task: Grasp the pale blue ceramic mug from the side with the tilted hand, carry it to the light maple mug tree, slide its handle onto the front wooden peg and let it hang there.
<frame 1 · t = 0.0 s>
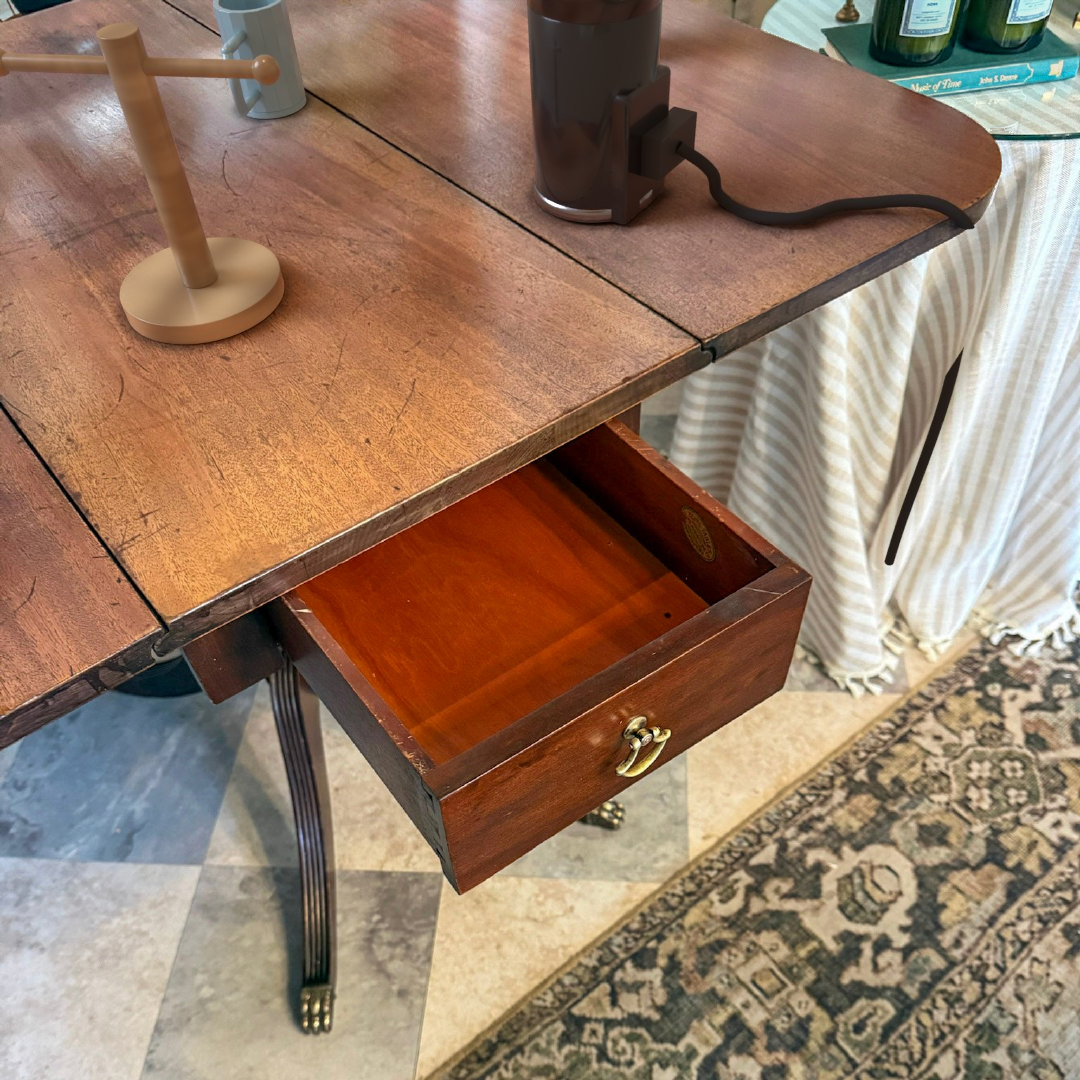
mug tree: (206, 297, 71), on the table
mug: (273, 104, 92), on the table
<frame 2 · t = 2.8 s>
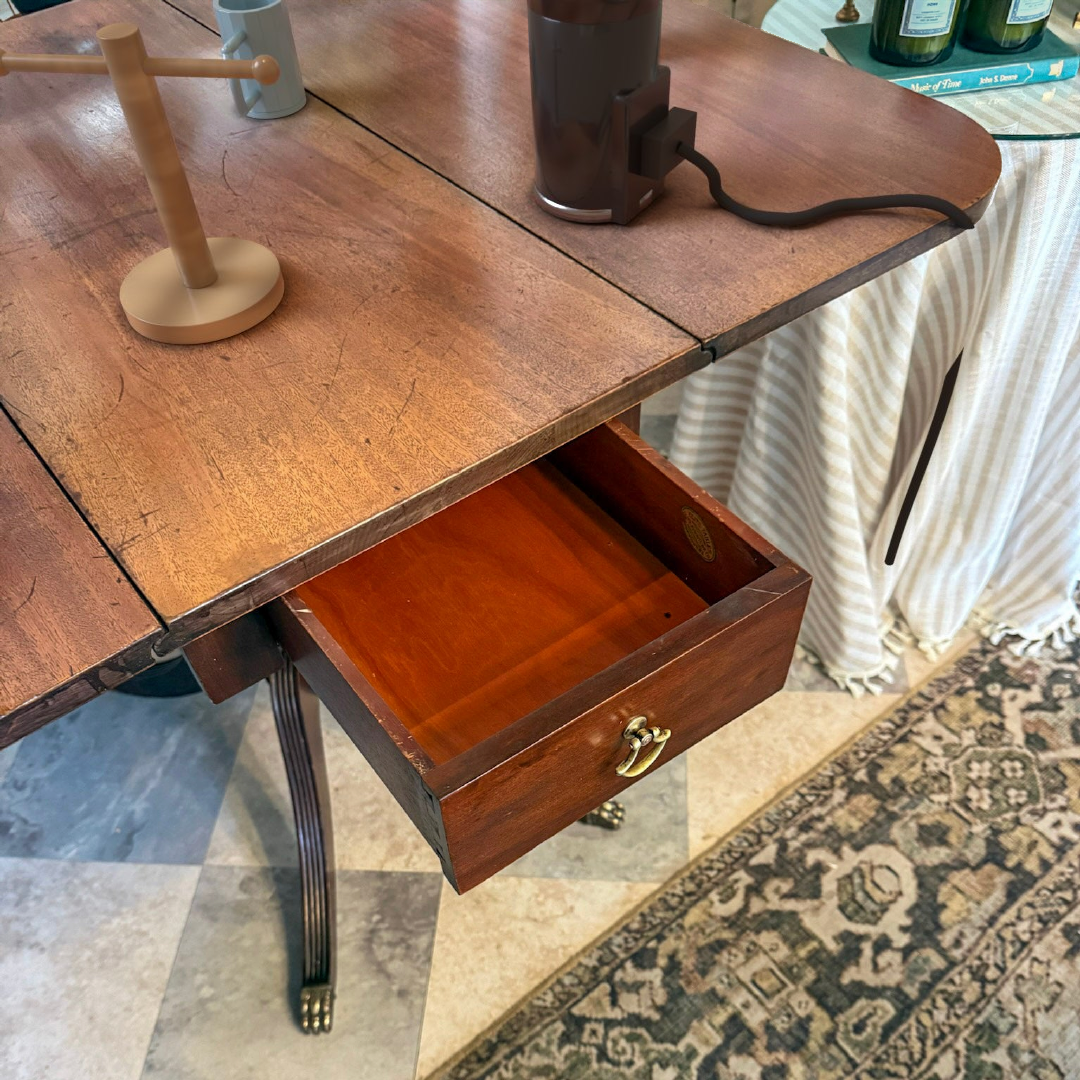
nothing on the table moved.
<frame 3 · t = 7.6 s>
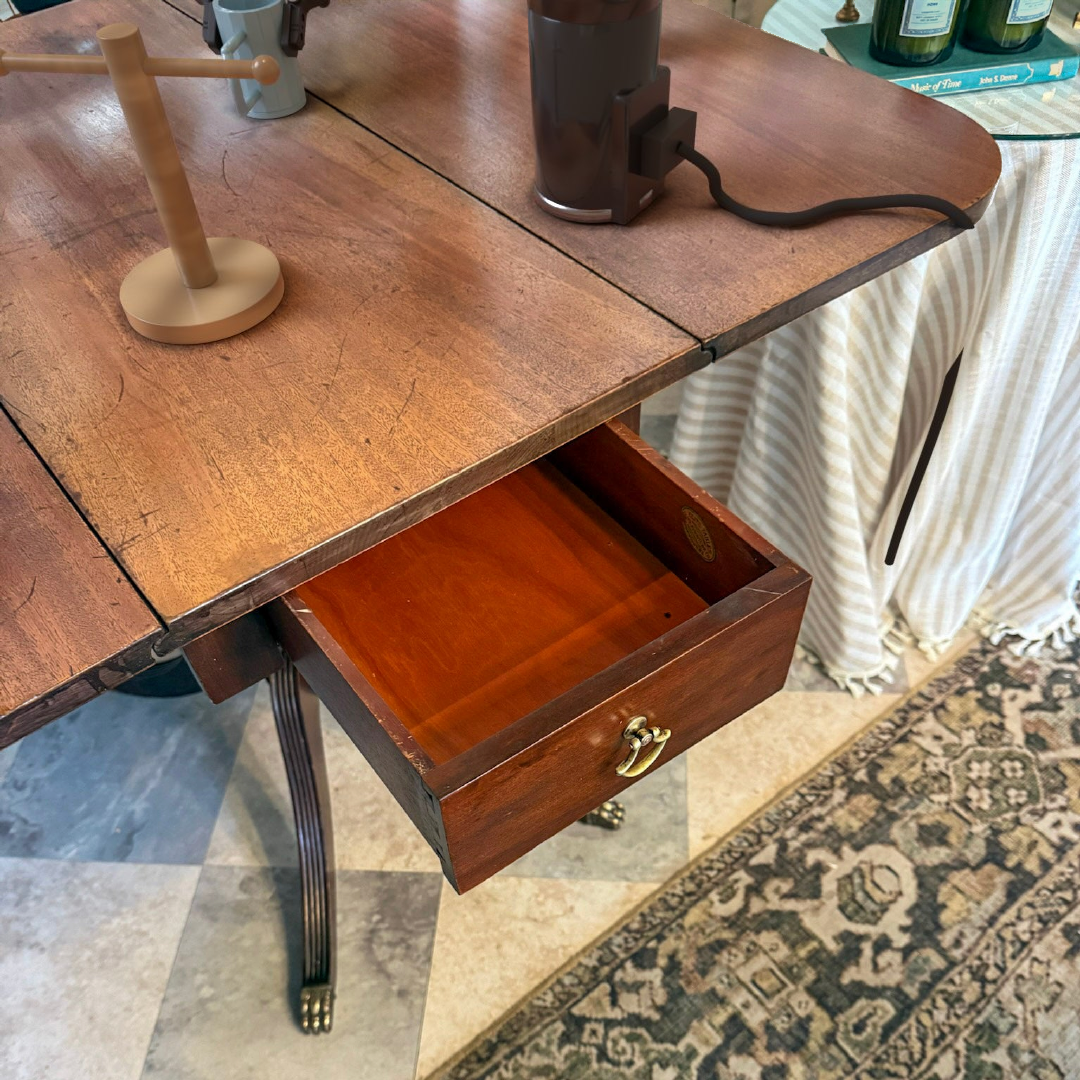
hand: (252, 51, 87), 5 cm above the table, tool tilted 45°, fingers closed on mug, 6 cm apart
mug: (273, 104, 92), on the table, touching gripper
everything else where it was.
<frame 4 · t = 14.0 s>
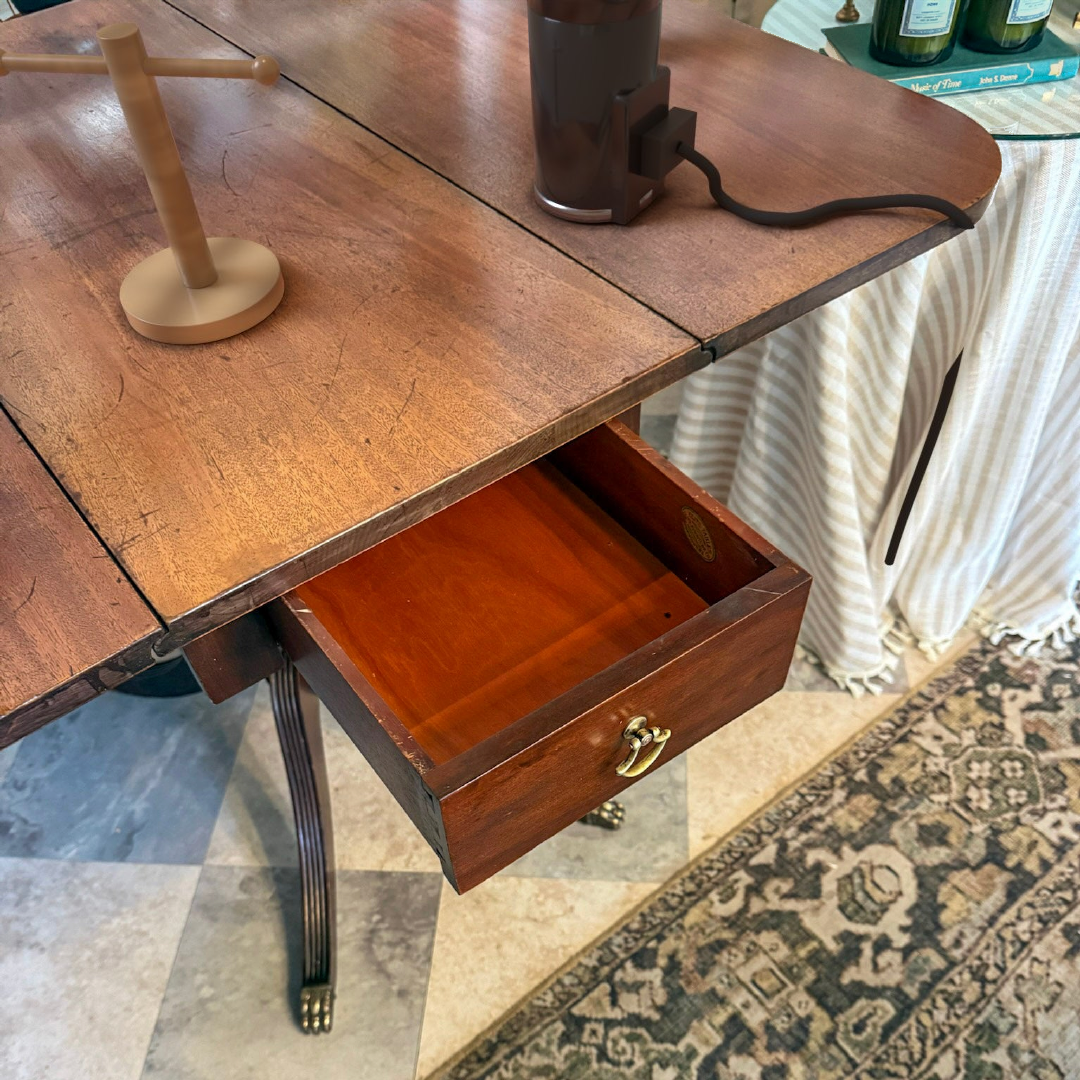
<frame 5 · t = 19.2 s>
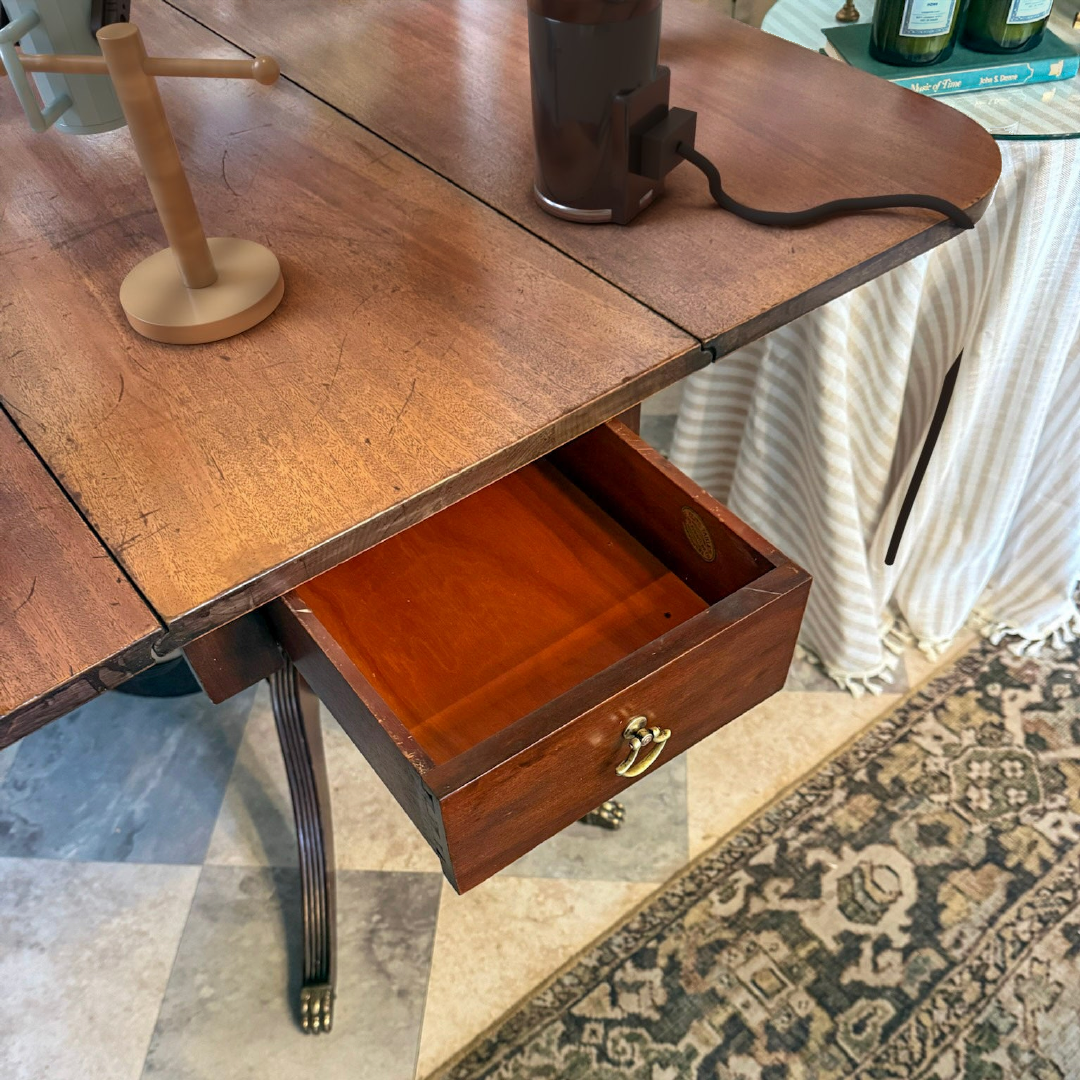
hand: (56, 41, 62), 16 cm above the table, tool tilted 45°, fingers closed on mug, 6 cm apart
mug: (99, 114, 67), point 11 cm above the table, touching gripper
everything else where it was.
when the fingers open (15 cm above the table, at t = 20.4 s): mug moves 10 cm and tips over, resting on mug tree.
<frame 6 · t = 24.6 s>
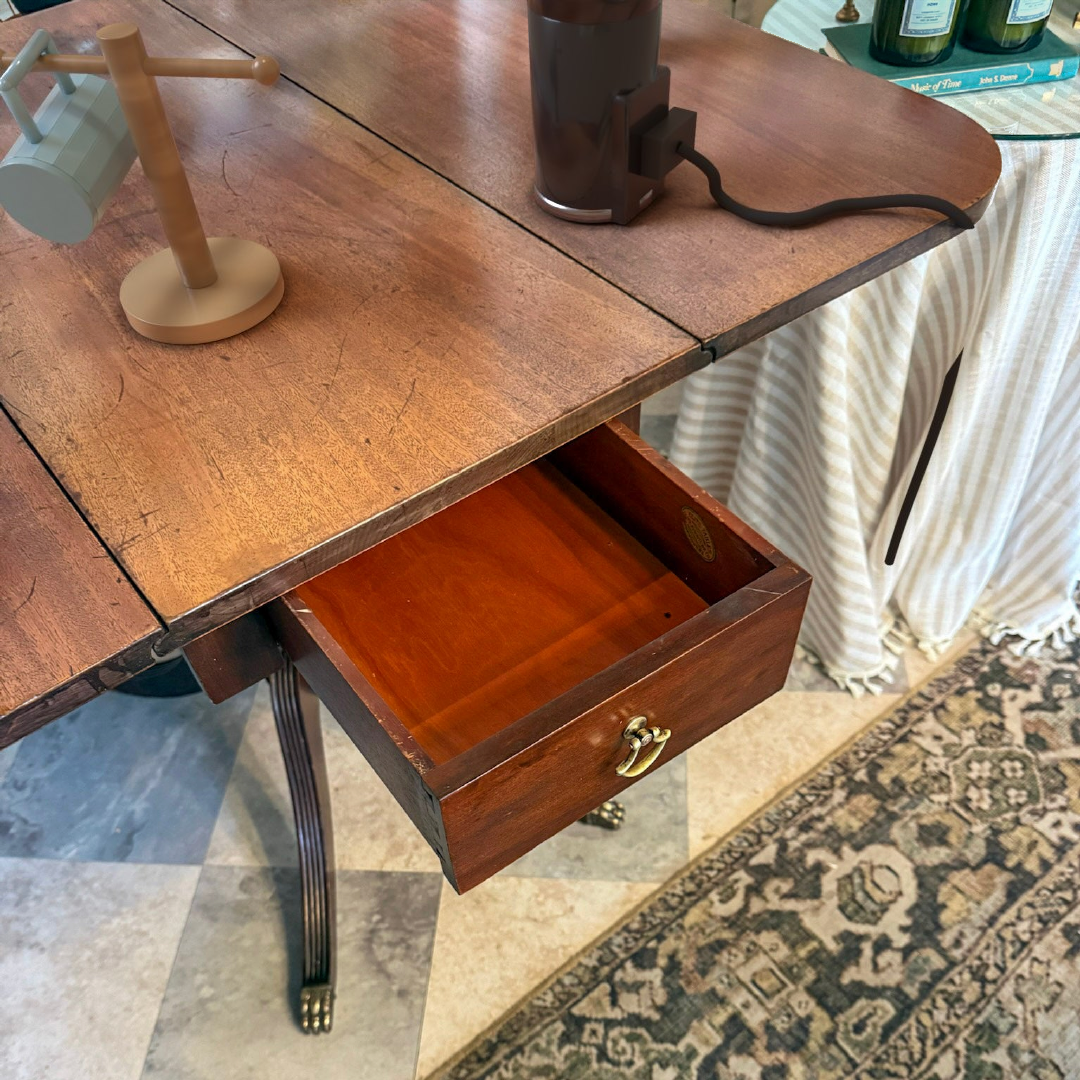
mug: (43, 205, 61), point 10 cm above the table, tilted 81°, touching mug tree
everything else where it was.
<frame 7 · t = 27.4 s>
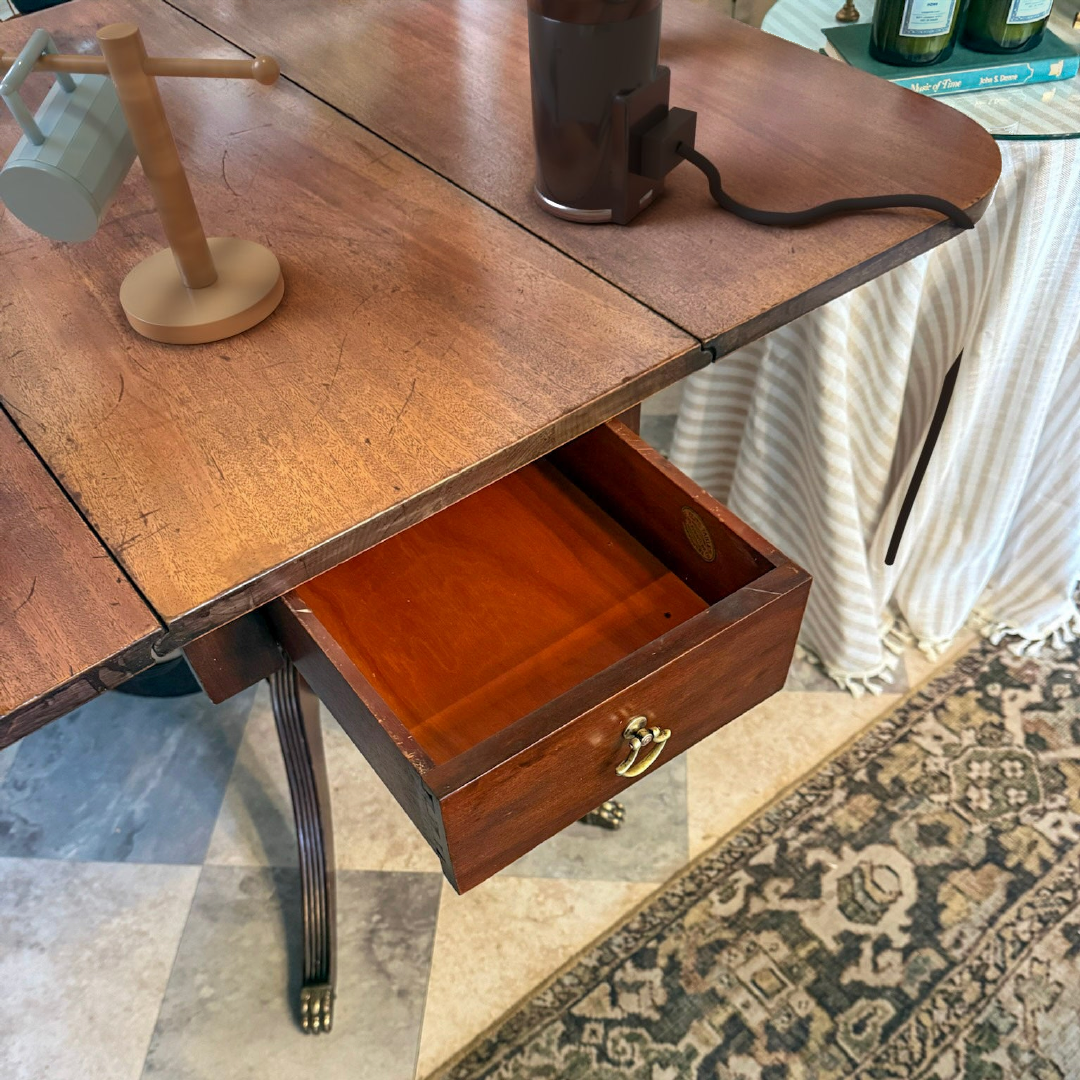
nothing on the table moved.
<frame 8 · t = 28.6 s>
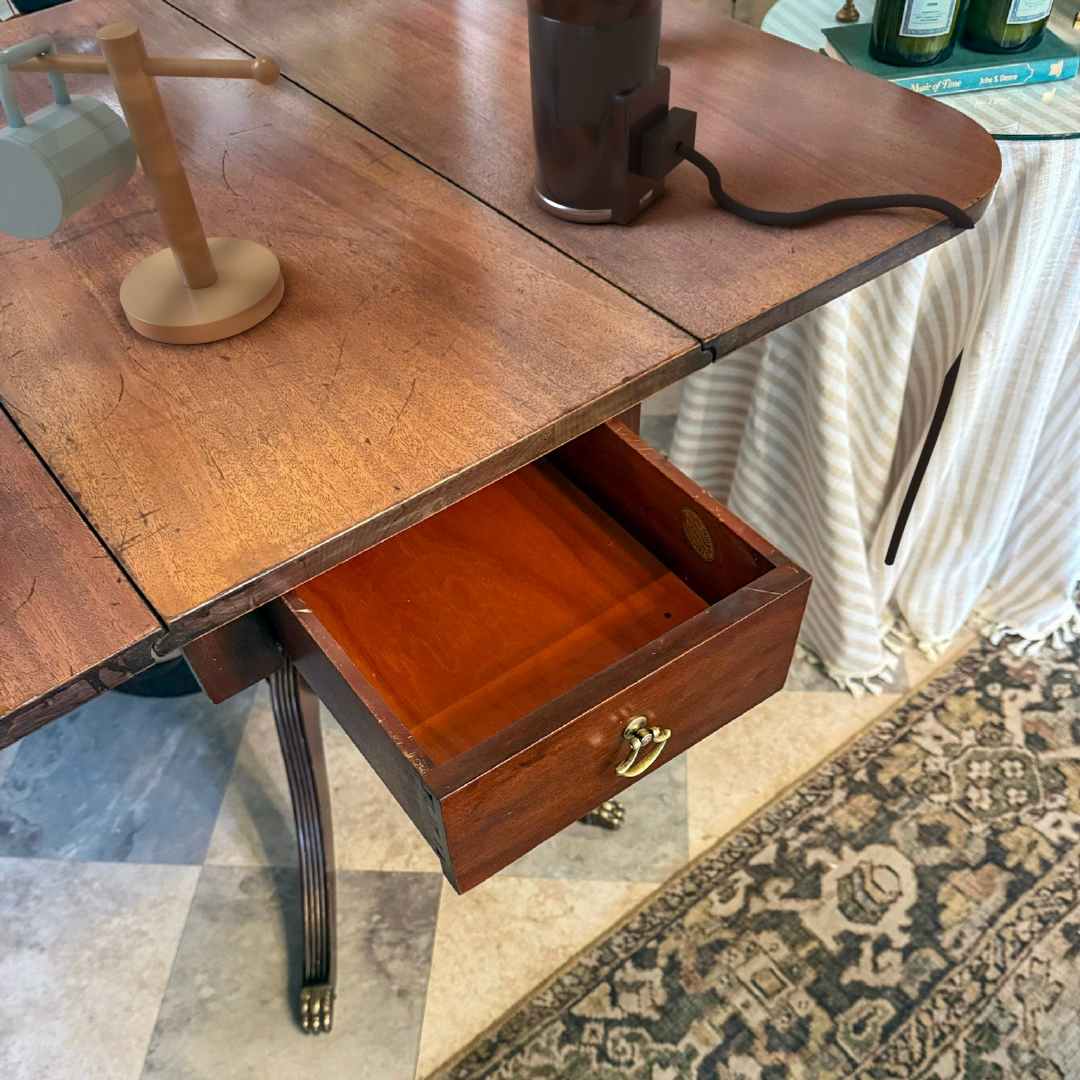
mug: (13, 190, 58), point 12 cm above the table, tilted 99°, touching mug tree
everything else where it was.
at the end: mug inside the target area on the mug tree (8.7 cm from its centre), point 11.6 cm above the mug tree's base; mug touching mug tree; the gripper is holding nothing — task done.
